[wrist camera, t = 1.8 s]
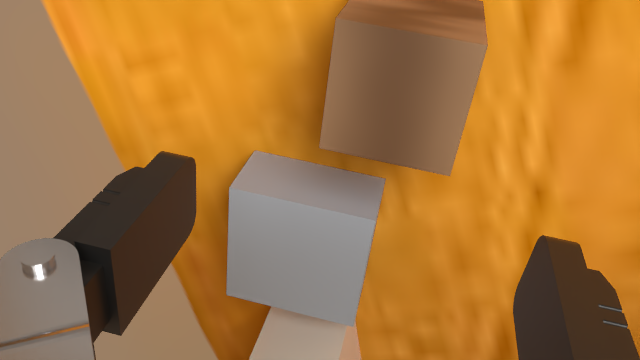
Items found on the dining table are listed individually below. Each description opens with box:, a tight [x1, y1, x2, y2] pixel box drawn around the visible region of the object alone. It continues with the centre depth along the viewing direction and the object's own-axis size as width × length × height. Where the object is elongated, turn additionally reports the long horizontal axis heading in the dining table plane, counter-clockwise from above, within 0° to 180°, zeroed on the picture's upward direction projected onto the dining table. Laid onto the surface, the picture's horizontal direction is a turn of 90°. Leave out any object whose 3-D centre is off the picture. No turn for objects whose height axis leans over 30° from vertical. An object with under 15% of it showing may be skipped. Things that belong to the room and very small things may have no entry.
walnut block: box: [319, 0, 488, 176], centre depth 22 cm, size 5×5×6 cm
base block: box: [226, 150, 386, 327], centre depth 29 cm, size 7×7×4 cm
